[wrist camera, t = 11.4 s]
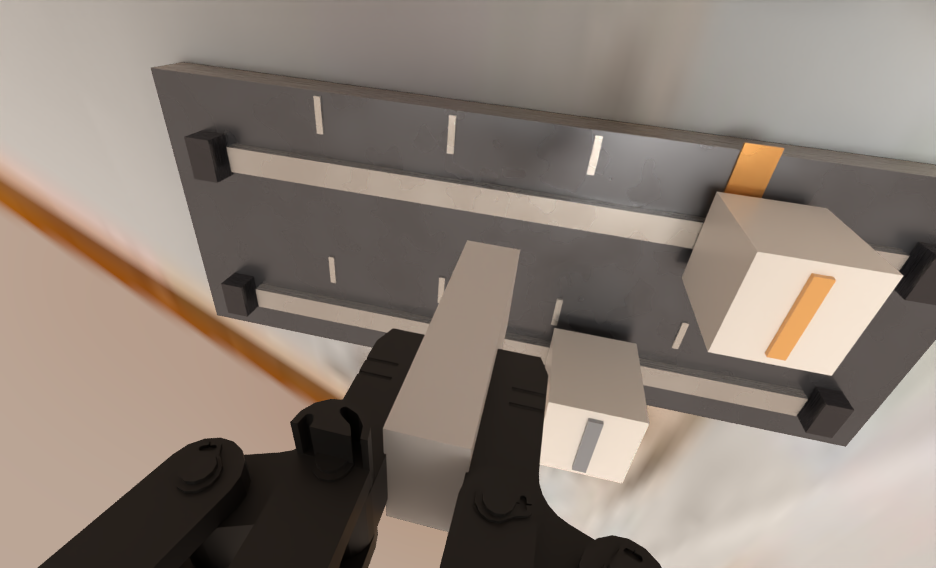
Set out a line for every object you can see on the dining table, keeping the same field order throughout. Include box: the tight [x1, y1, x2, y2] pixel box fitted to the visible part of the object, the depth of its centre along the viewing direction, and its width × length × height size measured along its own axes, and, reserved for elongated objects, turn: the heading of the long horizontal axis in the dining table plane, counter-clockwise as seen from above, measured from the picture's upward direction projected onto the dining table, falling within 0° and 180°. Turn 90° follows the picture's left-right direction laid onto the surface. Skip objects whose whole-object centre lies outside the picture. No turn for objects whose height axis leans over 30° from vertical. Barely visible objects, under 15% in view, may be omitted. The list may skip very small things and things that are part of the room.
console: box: [151, 62, 936, 446], centre depth 23 cm, size 14×36×3 cm, turn 85°
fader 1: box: [540, 328, 649, 483], centre depth 22 cm, size 4×4×5 cm
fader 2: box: [682, 192, 903, 376], centre depth 17 cm, size 4×4×5 cm
